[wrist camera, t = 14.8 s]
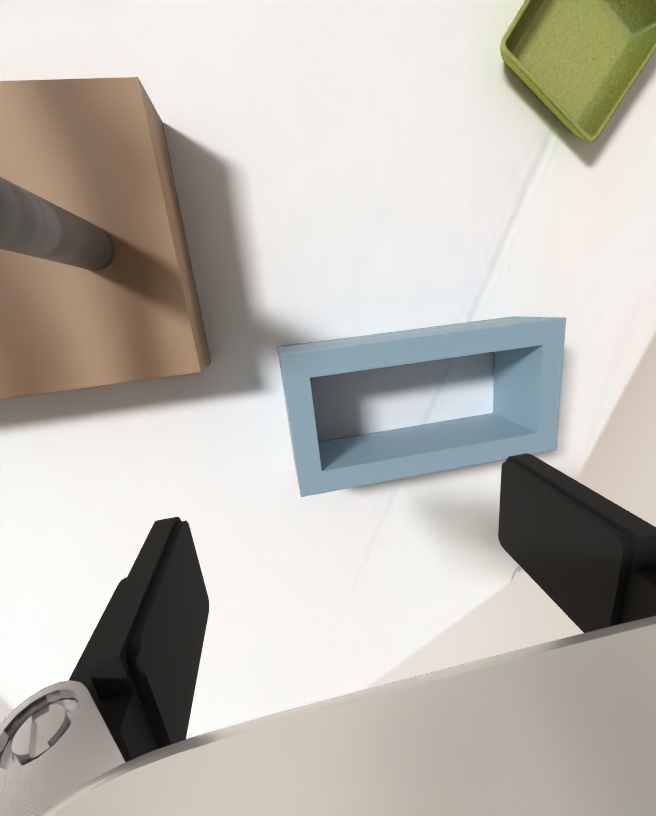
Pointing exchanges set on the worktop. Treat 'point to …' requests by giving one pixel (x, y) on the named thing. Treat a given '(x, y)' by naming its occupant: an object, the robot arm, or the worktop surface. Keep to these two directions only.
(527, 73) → the green square tray
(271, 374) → the worktop surface
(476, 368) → the worktop surface
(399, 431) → the link frame
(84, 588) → the worktop surface
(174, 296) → the stand
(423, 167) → the worktop surface
